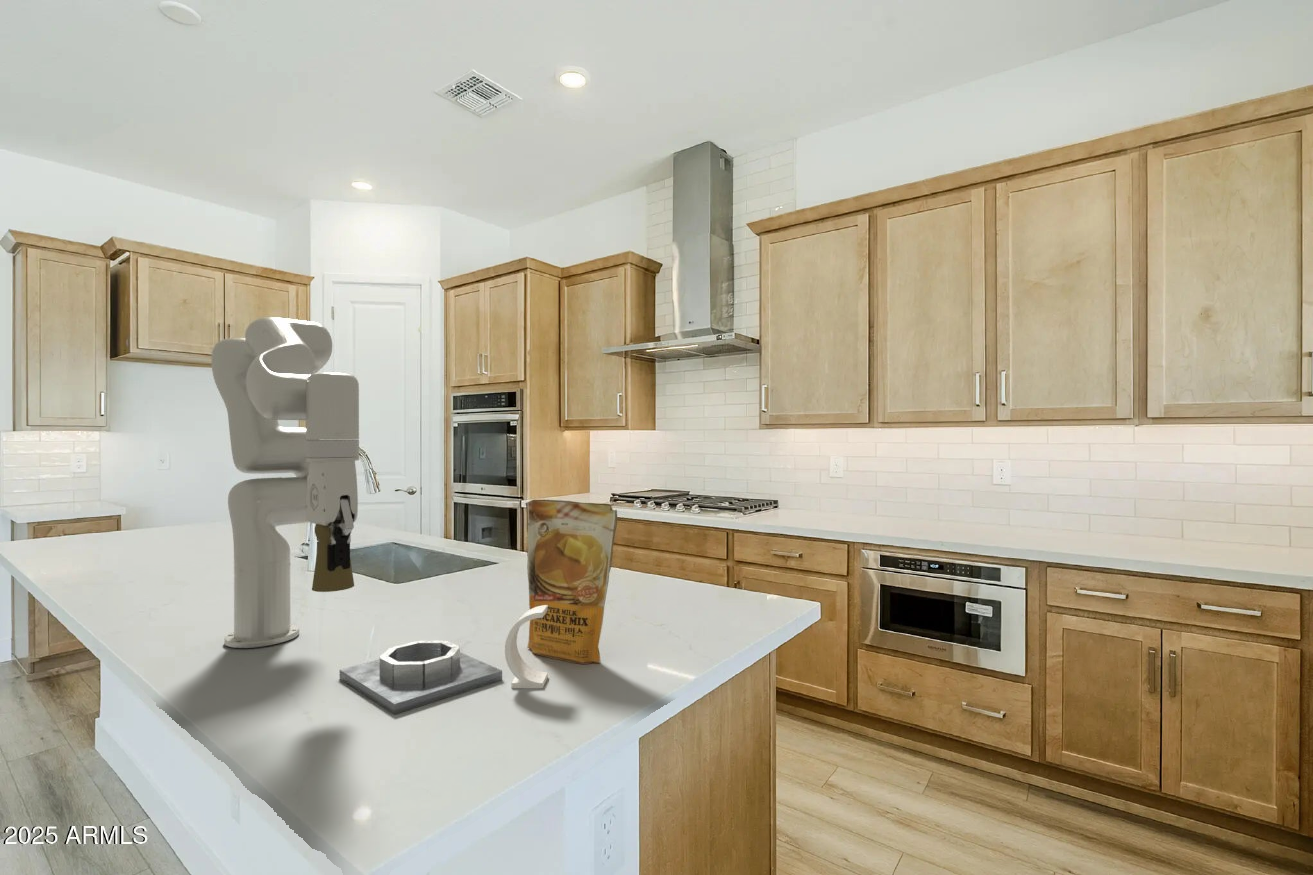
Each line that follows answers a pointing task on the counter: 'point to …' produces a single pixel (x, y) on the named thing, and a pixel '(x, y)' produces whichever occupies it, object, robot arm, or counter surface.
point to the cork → (322, 575)
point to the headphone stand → (518, 667)
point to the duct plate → (418, 691)
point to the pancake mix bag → (568, 576)
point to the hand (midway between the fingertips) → (333, 566)
